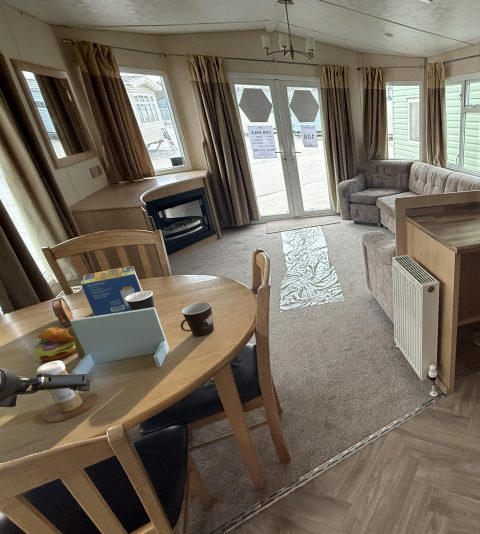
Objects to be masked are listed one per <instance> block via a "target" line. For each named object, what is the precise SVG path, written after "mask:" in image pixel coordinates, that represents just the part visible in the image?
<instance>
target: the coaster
mask: <svg viewBox="0 0 480 534" xmlns="http://www.w3.org/2000/svg"><path fill="white" fill-rule="evenodd" d="M78 394H79V396H80V398H81V399H82V400H83V402H82V404H81V405H80V406H78V407H77V408H75V409H73V410H71V411H67V412H60V411H59V408H58V407H57V405H56V403H55V404H53V405H52V406H50V407H49V408H48V409H47V410H46V411H45V413H44V415H43V419H44V421H45V422H47V423H61V422H65V421H68V420H71V419H74V418H76V417H78V416H80V415H82V414H84V413H85V412H87V411H89V409H91V408H93V406H95V404H96V403H97V402H98V399H99V396H98V395H97V394H96V393H94V392H90V391H86V392H81V393H78Z"/></svg>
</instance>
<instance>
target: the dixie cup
mask: <svg viewBox="0 0 480 534" xmlns="http://www.w3.org/2000/svg"><path fill="white" fill-rule="evenodd" d="M153 295H154V293H153V291H151V290H142V291H141V292H136V293H133V294H131V295H128V296H127V297H126V298H125V301H127V303H128V304H129V306H130V308H131V310H132V311H134V310H140V309H147V308H154V307H155V303H154V302H155V301H154V297H153Z"/></svg>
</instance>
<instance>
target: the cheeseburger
mask: <svg viewBox="0 0 480 534" xmlns="http://www.w3.org/2000/svg"><path fill="white" fill-rule="evenodd" d="M70 327H71V326H68V327H67V328H64V327H63V328H62V327H57V326H53V327H47V328H45V329H43V330H42V331H41V332H40V333H39V335H38V339H40V340H39V341H38V344H36V345H35V348H34V359H35V361H36V362H39V363H42V362H46V361H54V360H58V359H62V358H66V357H67V356H70V355H72V354H74V353H75V352H77V350H76V346H75V342H74V338H73V337H72V336H70V335H69V333H68V329H69V328H70Z"/></svg>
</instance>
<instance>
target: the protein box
mask: <svg viewBox="0 0 480 534" xmlns="http://www.w3.org/2000/svg"><path fill="white" fill-rule="evenodd" d="M80 286H81V288H82V291H83V293H84V295H85V298H86V300H87V302H88V304H89V306H90V309H91V312H92V314H93V316H100V315H107V314H114V313H120V312H127V311H132V310H131V308H130V306H129V304H128V303H127V301H125V298H126V297H127V296H128V295H131V294H133V293H136V292H141V291H143V288H142V286H141V283H140V280H139V278H138V276H137V273H136V269H135V267H134V266H133V265H128V266H123V267H118V268H113V269H108V270H103V271H97V272H93V273H87V274H81V277H80Z"/></svg>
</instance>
